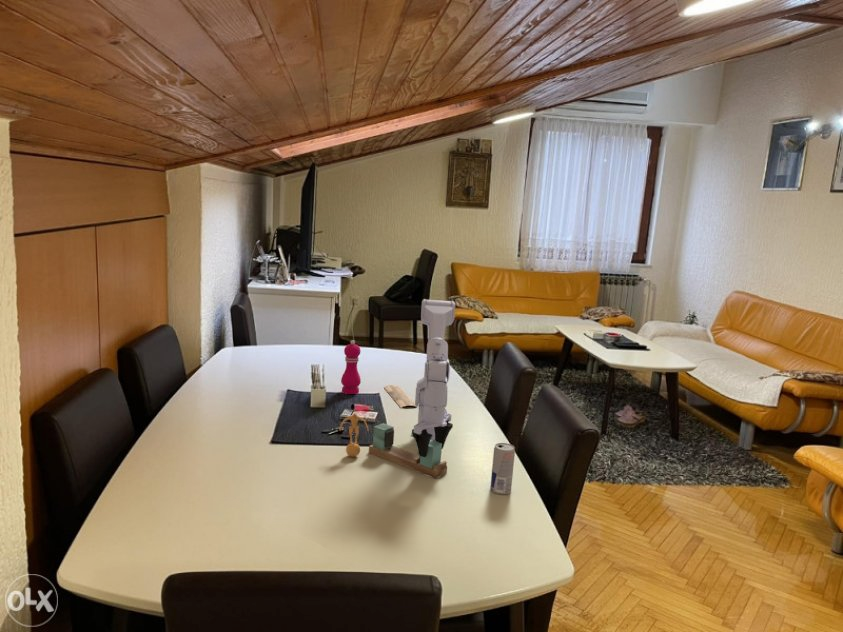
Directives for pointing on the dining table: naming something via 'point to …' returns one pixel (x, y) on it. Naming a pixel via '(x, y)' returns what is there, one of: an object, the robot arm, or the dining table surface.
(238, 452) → the dining table surface
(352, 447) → the figurine
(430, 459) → the block
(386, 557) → the dining table surface
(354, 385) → the pepper mill
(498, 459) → the energy drink
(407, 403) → the tan flat bar
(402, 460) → the rail
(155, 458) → the dining table surface
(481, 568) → the dining table surface
